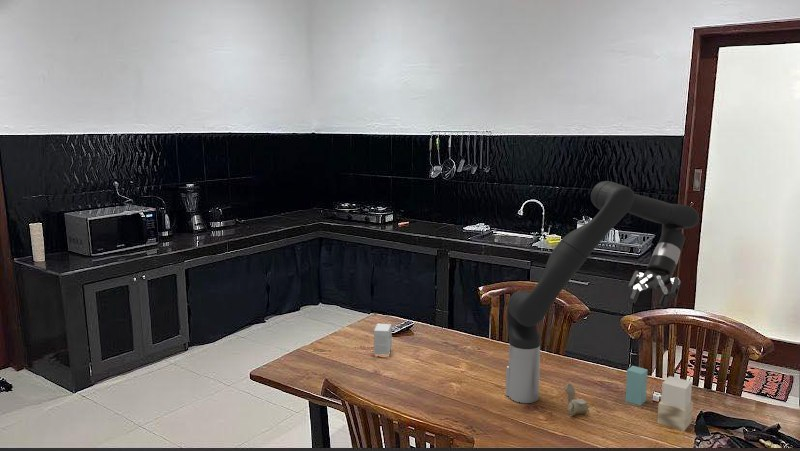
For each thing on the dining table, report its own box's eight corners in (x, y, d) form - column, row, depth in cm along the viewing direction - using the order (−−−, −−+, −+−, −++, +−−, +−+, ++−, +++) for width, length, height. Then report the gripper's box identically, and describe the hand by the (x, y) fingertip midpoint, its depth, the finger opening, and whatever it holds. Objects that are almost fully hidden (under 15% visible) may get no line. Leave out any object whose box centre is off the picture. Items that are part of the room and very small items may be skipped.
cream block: (661, 403, 158) (662, 382, 157) (668, 395, 162) (669, 375, 161) (684, 409, 154) (685, 388, 153) (690, 401, 158) (692, 381, 157)
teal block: (625, 401, 172) (626, 370, 170) (630, 396, 175) (632, 365, 174) (640, 405, 169) (642, 374, 167) (645, 400, 172) (647, 369, 171)
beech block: (657, 423, 159) (658, 403, 158) (665, 414, 164) (666, 394, 163) (684, 431, 154) (685, 410, 153) (691, 421, 159) (693, 401, 158)
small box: (377, 349, 217) (377, 323, 215) (392, 350, 216) (391, 323, 214) (373, 357, 209) (373, 330, 207) (388, 358, 208) (388, 330, 206)
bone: (591, 418, 159) (573, 385, 160) (571, 425, 161) (553, 394, 162) (593, 406, 167) (576, 375, 168) (573, 414, 169) (556, 384, 170)
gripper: (638, 251, 182) (620, 294, 176) (683, 256, 171) (666, 302, 166) (645, 263, 186) (628, 305, 181) (690, 270, 175) (673, 315, 170)
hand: (646, 304), depth 173 cm, fingers open, 8 cm apart
